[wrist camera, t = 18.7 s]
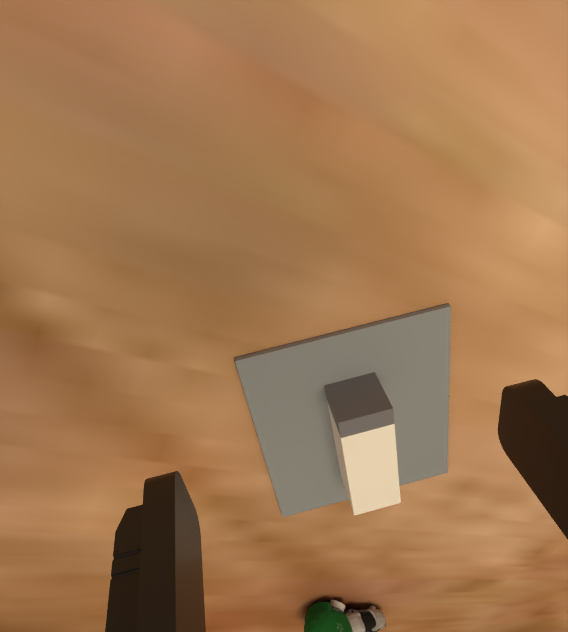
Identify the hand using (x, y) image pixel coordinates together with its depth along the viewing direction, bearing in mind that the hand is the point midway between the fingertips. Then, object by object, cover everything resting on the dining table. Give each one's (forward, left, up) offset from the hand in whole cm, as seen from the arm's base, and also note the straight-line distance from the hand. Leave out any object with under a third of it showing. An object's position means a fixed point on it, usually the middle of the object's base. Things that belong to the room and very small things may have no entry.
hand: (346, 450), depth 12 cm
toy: (0, -68, -28) cm, 74 cm away
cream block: (+6, -37, -24) cm, 45 cm away
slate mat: (+6, -30, -27) cm, 41 cm away
